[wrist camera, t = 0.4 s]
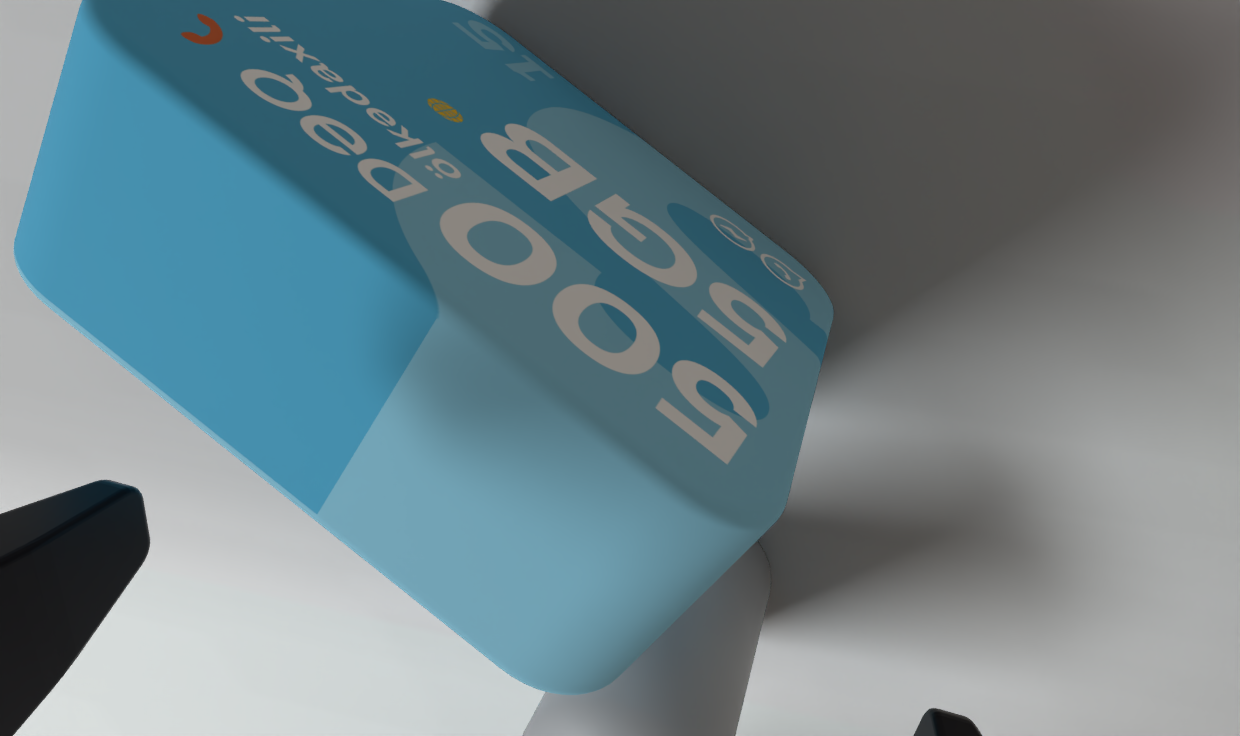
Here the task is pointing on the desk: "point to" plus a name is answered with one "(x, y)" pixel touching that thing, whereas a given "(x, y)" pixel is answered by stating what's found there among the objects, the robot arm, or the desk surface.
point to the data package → (431, 308)
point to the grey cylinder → (678, 669)
